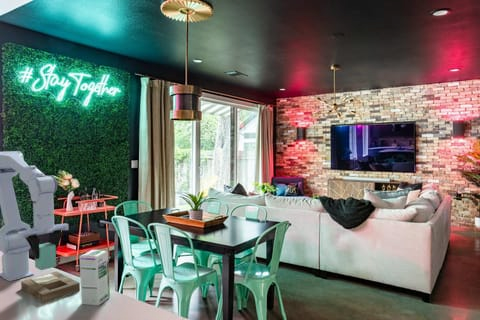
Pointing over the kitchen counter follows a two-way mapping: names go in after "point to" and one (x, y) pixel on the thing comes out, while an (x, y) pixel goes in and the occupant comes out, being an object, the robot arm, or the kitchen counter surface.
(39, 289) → the pocket plate
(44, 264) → the teal block
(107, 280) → the syrup box
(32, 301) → the kitchen counter surface
